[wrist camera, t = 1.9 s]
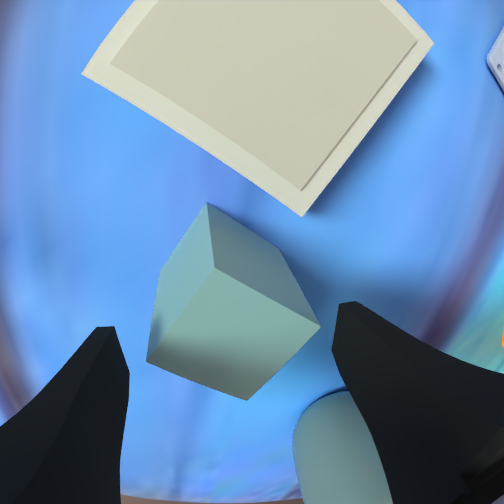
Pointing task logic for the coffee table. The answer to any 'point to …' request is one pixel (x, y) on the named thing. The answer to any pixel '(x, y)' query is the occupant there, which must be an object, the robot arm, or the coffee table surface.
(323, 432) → the cup
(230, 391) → the block
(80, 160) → the coffee table surface
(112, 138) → the coffee table surface
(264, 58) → the tray
